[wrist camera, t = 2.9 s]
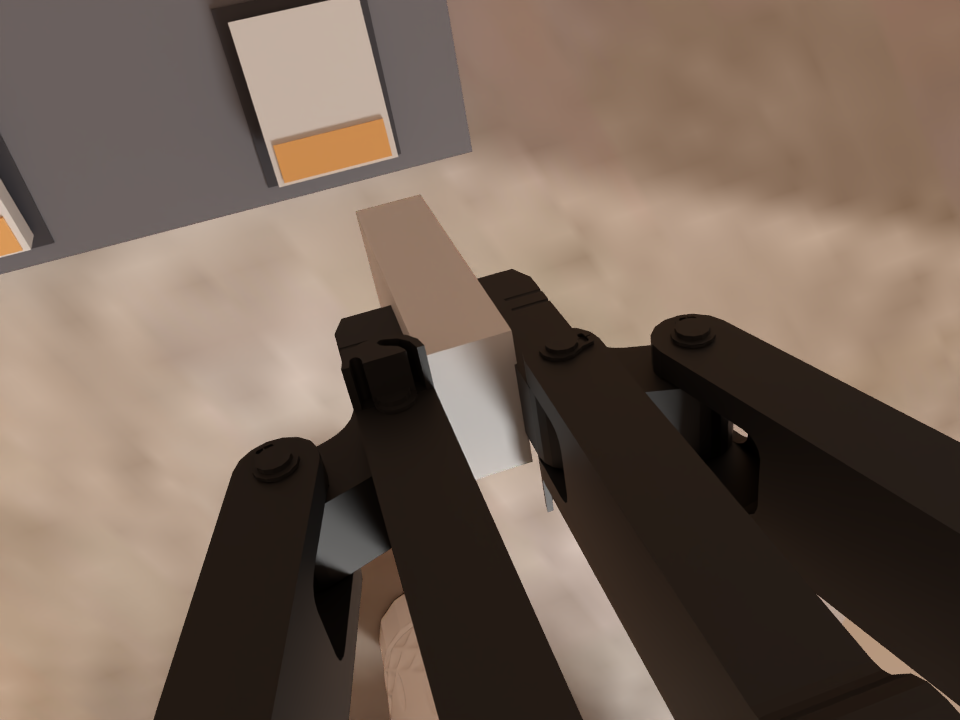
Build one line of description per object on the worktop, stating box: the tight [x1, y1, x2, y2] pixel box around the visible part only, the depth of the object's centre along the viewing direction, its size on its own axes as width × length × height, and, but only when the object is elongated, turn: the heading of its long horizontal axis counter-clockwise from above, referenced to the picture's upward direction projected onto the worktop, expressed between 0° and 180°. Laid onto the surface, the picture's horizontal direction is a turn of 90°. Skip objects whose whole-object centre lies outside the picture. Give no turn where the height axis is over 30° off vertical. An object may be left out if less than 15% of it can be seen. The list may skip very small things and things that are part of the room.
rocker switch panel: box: [0, 0, 472, 274], centre depth 26 cm, size 22×10×3 cm, turn 99°
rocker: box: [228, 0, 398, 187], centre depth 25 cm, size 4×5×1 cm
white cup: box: [379, 594, 439, 720], centre depth 41 cm, size 8×8×10 cm
